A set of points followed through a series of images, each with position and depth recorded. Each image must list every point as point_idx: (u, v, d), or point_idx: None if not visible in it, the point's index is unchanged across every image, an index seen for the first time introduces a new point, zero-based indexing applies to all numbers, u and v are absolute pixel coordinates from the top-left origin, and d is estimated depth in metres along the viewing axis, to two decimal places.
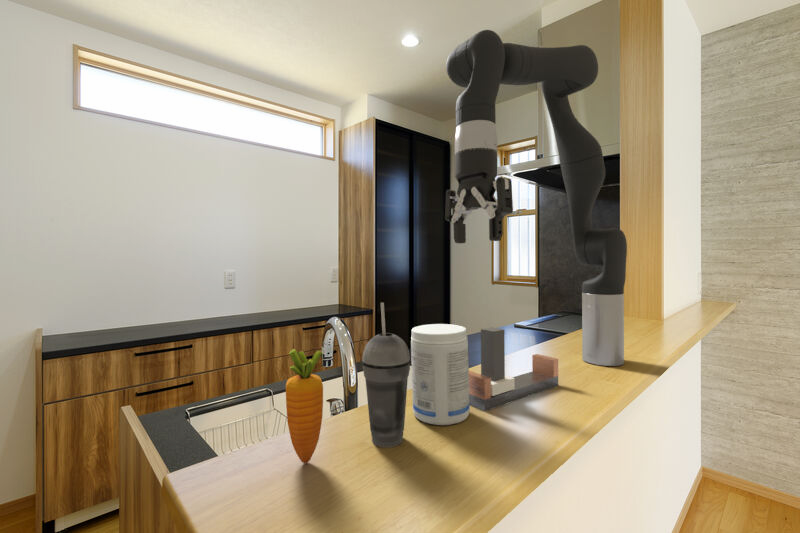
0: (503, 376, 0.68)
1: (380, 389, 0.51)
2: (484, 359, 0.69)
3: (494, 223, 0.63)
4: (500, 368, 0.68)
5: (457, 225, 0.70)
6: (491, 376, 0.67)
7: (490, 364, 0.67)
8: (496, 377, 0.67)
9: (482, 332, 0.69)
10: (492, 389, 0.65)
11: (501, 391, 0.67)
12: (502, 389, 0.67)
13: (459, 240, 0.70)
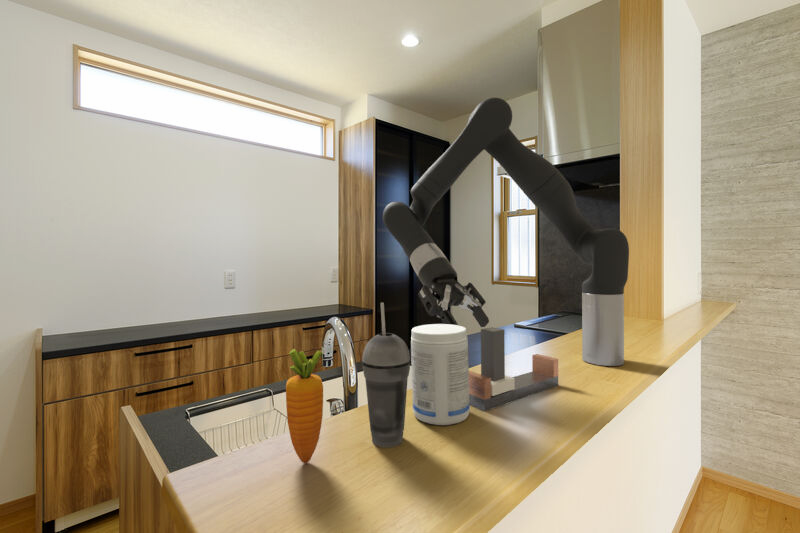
0: (503, 376, 0.68)
1: (380, 389, 0.51)
2: (484, 359, 0.69)
3: None
4: (500, 368, 0.68)
5: (473, 314, 0.78)
6: (491, 376, 0.67)
7: (490, 364, 0.67)
8: (496, 377, 0.67)
9: (482, 332, 0.69)
10: (492, 389, 0.65)
11: (501, 391, 0.67)
12: (502, 389, 0.67)
13: (481, 324, 0.76)
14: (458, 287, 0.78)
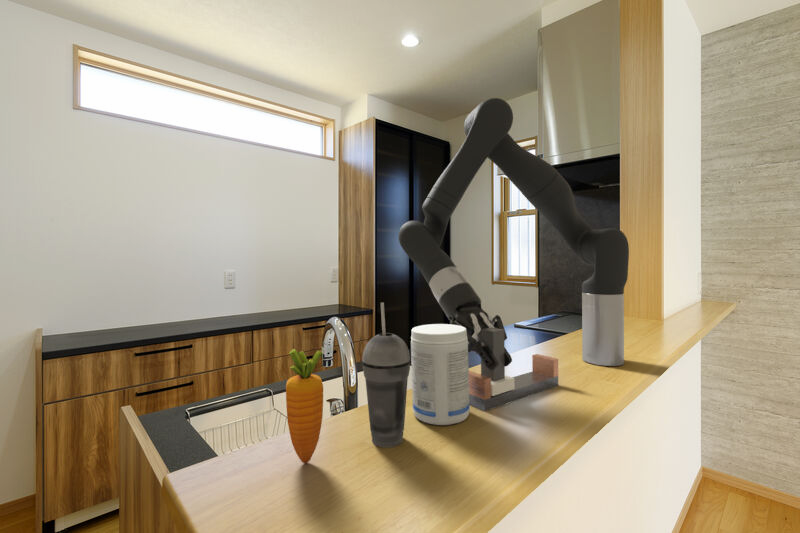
0: (503, 376, 0.68)
1: (380, 389, 0.51)
2: None
3: None
4: (500, 368, 0.68)
5: None
6: (491, 376, 0.67)
7: None
8: (496, 377, 0.67)
9: (482, 332, 0.69)
10: (492, 389, 0.65)
11: (501, 391, 0.67)
12: (502, 389, 0.67)
13: None
14: (482, 316, 0.72)
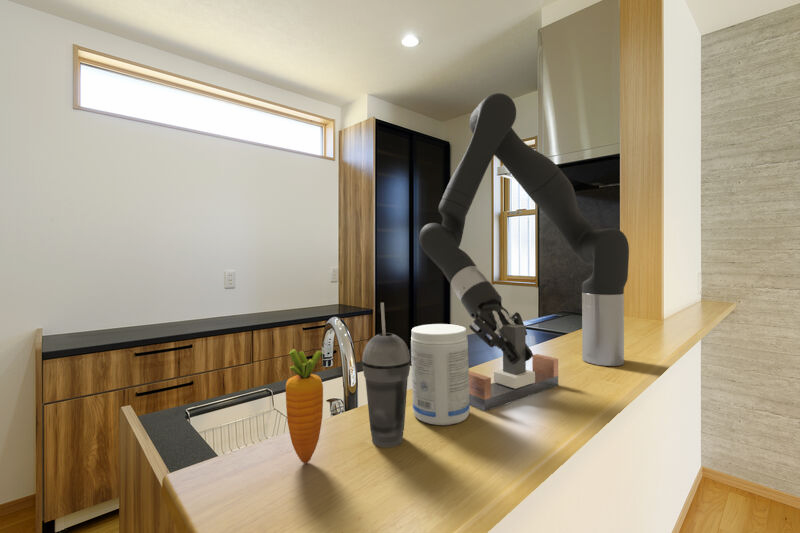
0: (524, 370, 0.72)
1: (380, 389, 0.51)
2: None
3: None
4: (521, 362, 0.71)
5: None
6: (513, 370, 0.71)
7: None
8: (518, 371, 0.71)
9: (504, 328, 0.72)
10: (515, 382, 0.69)
11: (523, 384, 0.70)
12: (524, 382, 0.70)
13: None
14: (503, 313, 0.76)
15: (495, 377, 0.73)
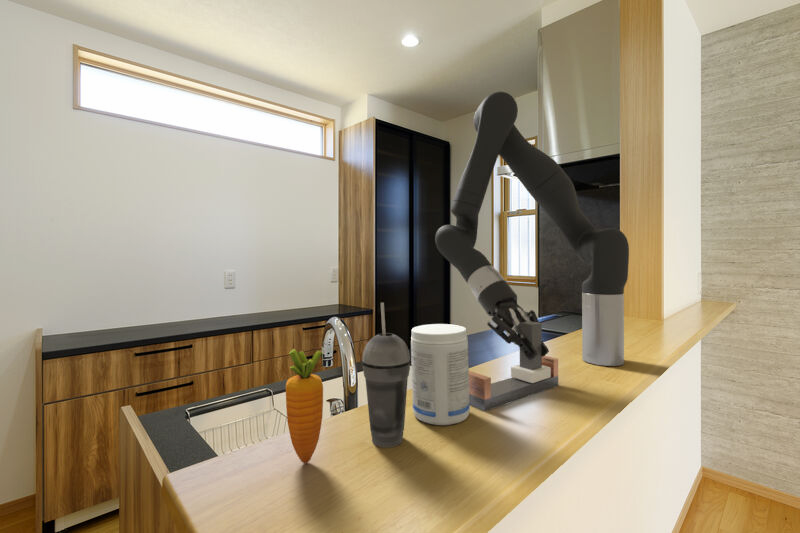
0: (540, 365, 0.75)
1: (380, 389, 0.51)
2: None
3: None
4: (538, 358, 0.74)
5: None
6: (530, 365, 0.74)
7: None
8: (534, 366, 0.74)
9: (521, 325, 0.75)
10: (532, 377, 0.72)
11: (539, 379, 0.73)
12: (540, 377, 0.73)
13: None
14: (519, 310, 0.79)
15: (512, 373, 0.76)
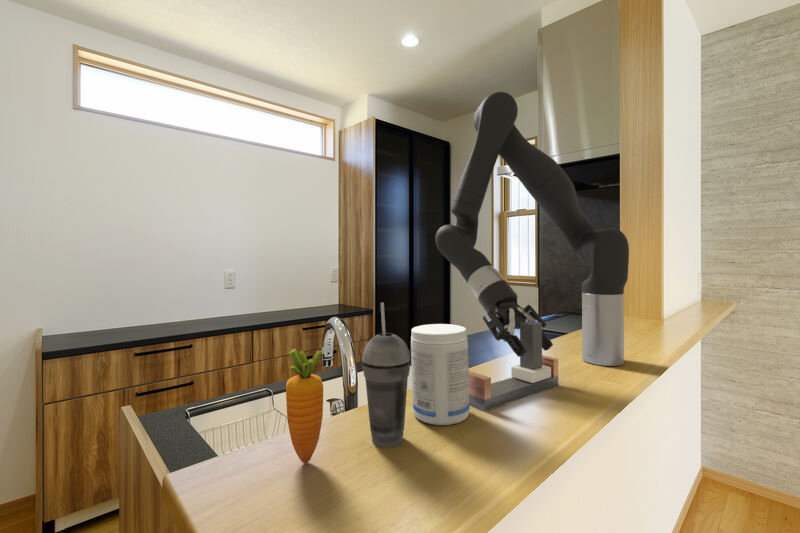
0: (541, 365, 0.75)
1: (380, 389, 0.51)
2: None
3: None
4: (538, 358, 0.75)
5: None
6: (530, 365, 0.74)
7: (529, 354, 0.74)
8: (535, 366, 0.74)
9: (521, 325, 0.75)
10: (532, 377, 0.72)
11: (540, 379, 0.73)
12: (541, 377, 0.73)
13: (545, 347, 0.77)
14: (520, 310, 0.79)
15: (512, 372, 0.76)
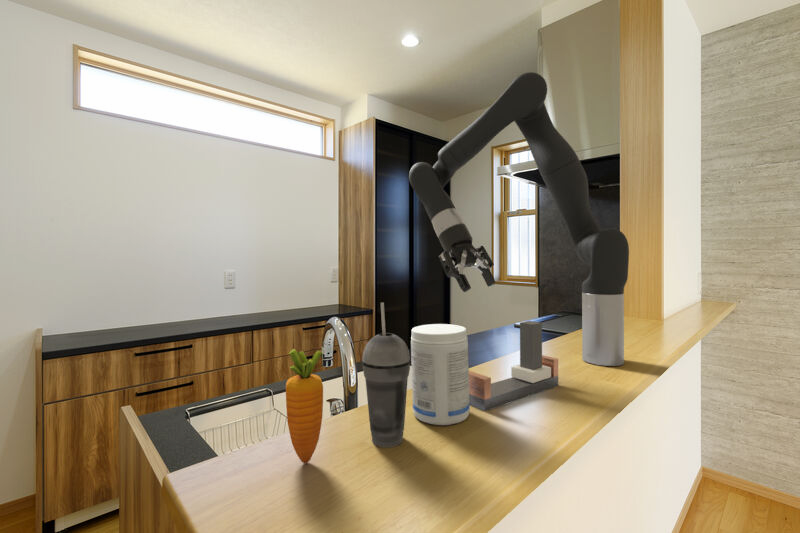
0: (541, 365, 0.75)
1: (380, 389, 0.51)
2: (523, 350, 0.75)
3: None
4: (538, 358, 0.75)
5: (482, 275, 0.93)
6: (530, 365, 0.74)
7: (529, 354, 0.74)
8: (535, 366, 0.74)
9: (521, 325, 0.75)
10: (532, 377, 0.72)
11: (540, 379, 0.73)
12: (541, 377, 0.73)
13: (488, 284, 0.92)
14: (472, 252, 0.91)
15: (512, 372, 0.76)
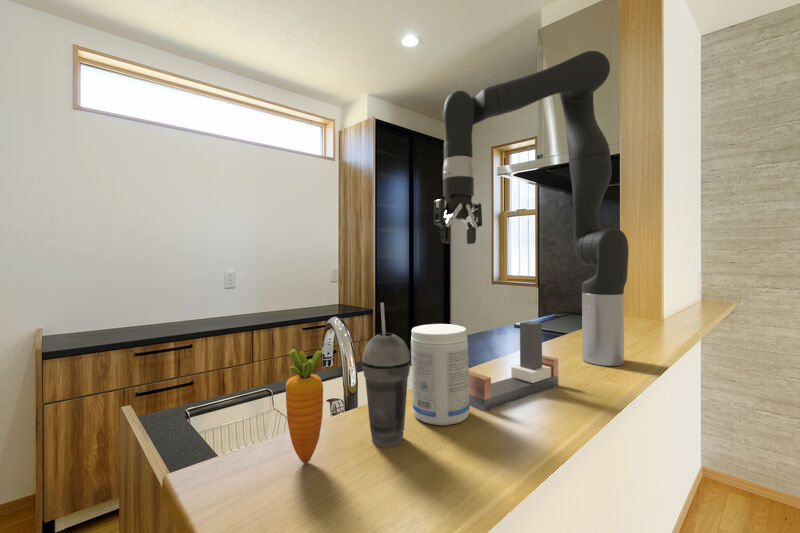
0: (541, 365, 0.75)
1: (380, 389, 0.51)
2: (523, 350, 0.75)
3: None
4: (538, 358, 0.75)
5: (467, 231, 0.96)
6: (530, 365, 0.74)
7: (529, 354, 0.74)
8: (535, 366, 0.74)
9: (521, 325, 0.75)
10: (532, 377, 0.72)
11: (540, 379, 0.73)
12: (541, 377, 0.73)
13: (468, 241, 0.95)
14: (467, 208, 0.92)
15: (512, 372, 0.76)
